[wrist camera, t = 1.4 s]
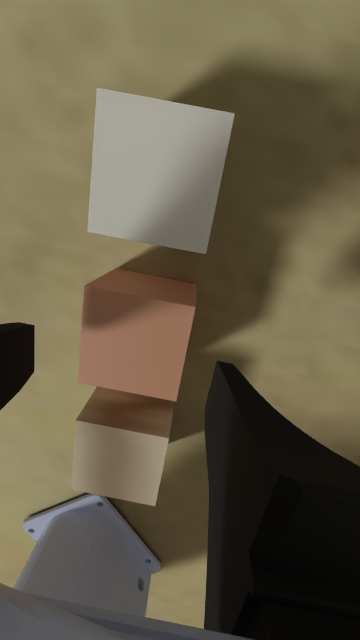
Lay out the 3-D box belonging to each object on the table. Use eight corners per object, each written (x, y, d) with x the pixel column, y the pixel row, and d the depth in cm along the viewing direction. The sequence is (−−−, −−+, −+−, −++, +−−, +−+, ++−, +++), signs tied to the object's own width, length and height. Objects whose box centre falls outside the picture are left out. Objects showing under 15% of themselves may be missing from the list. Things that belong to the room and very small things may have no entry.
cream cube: (224, 146, 14) (234, 113, 10) (204, 244, 16) (205, 254, 11) (129, 129, 14) (97, 87, 10) (119, 228, 16) (87, 231, 12)
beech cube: (176, 386, 19) (169, 438, 15) (165, 443, 21) (155, 506, 16) (105, 372, 19) (75, 420, 15) (99, 430, 21) (71, 489, 16)
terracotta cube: (197, 283, 17) (195, 307, 12) (182, 356, 18) (176, 401, 14) (116, 267, 17) (84, 285, 12) (108, 342, 18) (77, 382, 14)
